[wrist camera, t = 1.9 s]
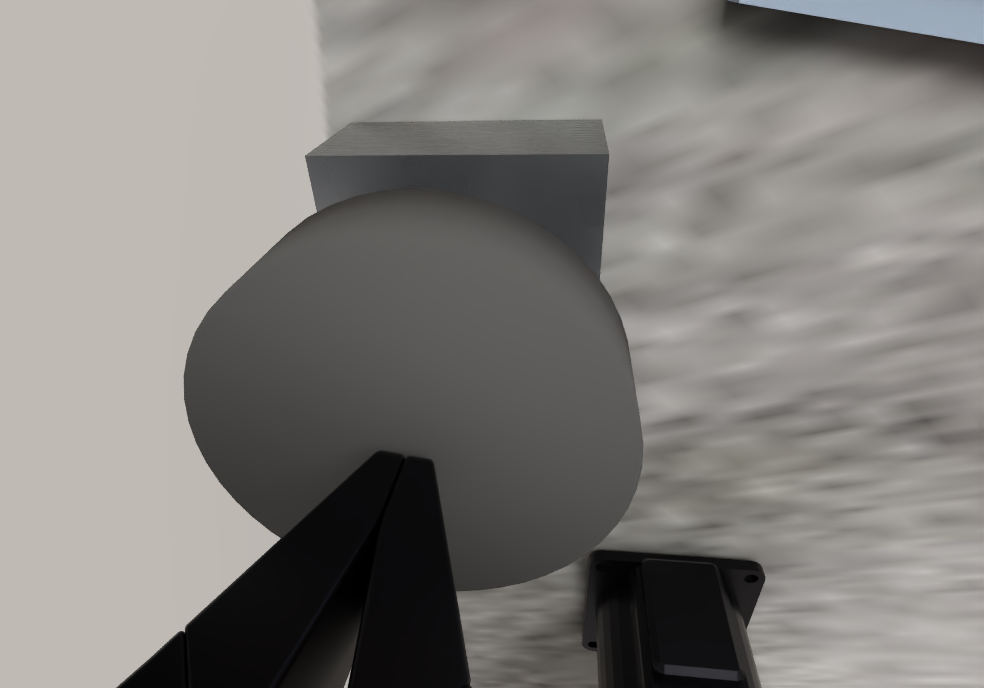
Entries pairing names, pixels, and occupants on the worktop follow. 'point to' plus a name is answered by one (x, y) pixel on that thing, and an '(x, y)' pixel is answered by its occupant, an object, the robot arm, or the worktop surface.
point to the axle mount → (479, 169)
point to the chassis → (896, 14)
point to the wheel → (425, 377)
